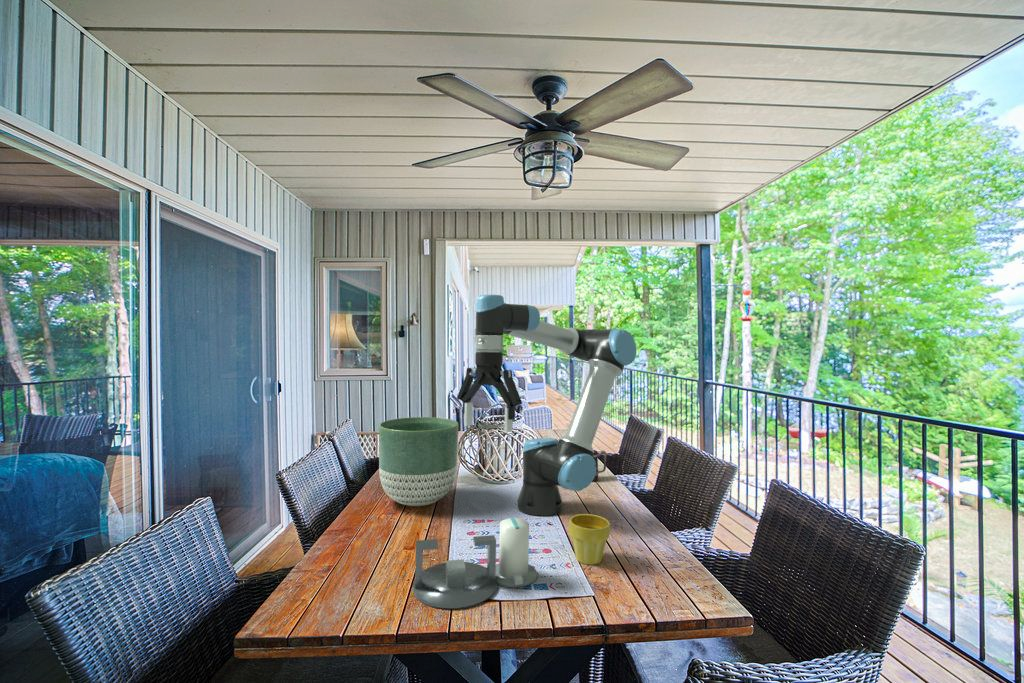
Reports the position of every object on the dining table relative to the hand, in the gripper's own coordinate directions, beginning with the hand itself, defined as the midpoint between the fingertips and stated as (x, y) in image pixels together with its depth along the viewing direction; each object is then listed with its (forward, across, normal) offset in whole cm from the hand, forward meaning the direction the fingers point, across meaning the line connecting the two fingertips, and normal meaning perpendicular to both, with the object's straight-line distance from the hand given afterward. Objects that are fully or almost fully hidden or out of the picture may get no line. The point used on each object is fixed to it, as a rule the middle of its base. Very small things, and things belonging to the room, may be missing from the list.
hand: (487, 428), depth 127 cm
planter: (+32, -38, +13) cm, 51 cm away
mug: (+32, +1, +73) cm, 79 cm away
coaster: (+32, +16, -10) cm, 37 cm away
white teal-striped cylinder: (+31, +16, -10) cm, 36 cm away
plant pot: (+32, +27, +8) cm, 43 cm away
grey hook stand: (+32, +7, -21) cm, 39 cm away
